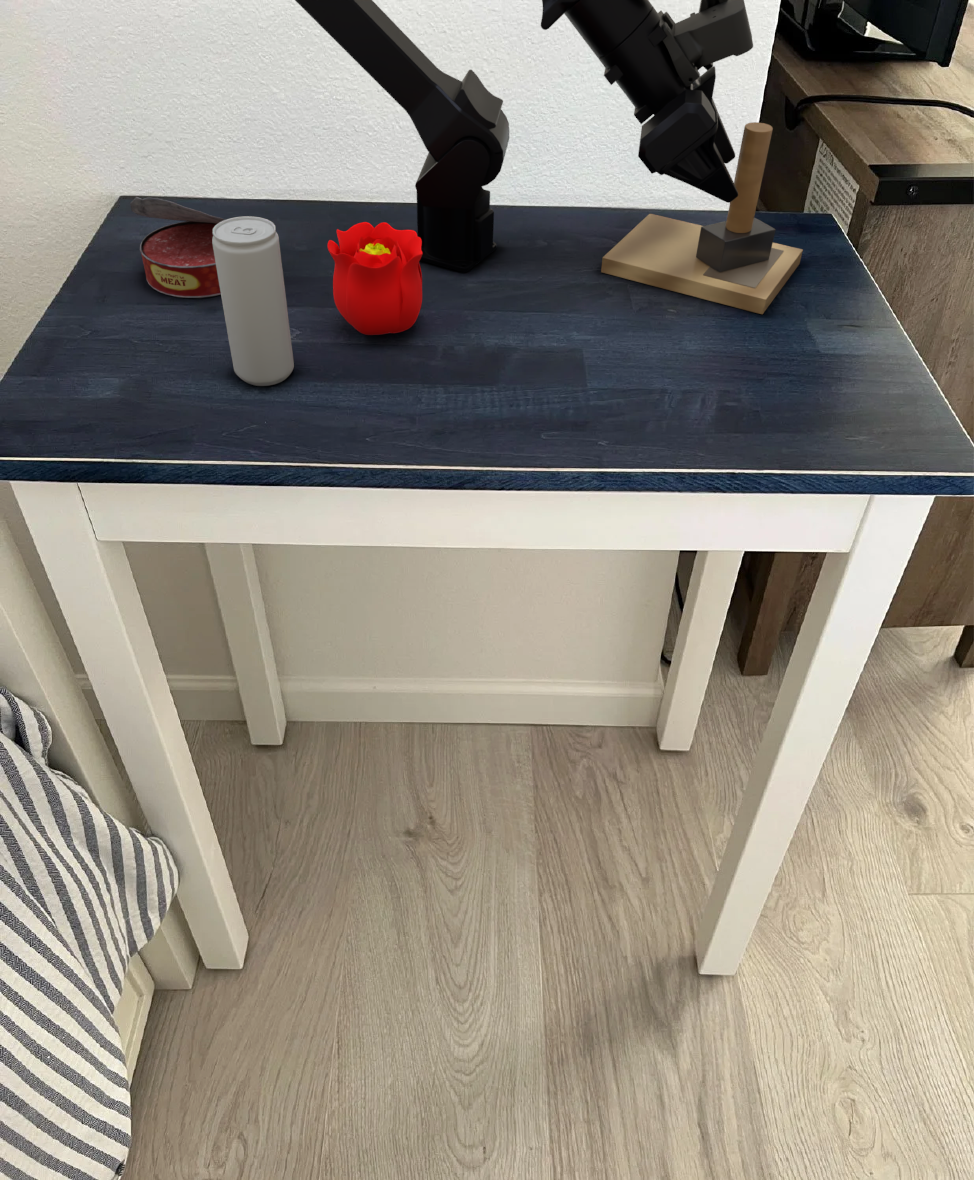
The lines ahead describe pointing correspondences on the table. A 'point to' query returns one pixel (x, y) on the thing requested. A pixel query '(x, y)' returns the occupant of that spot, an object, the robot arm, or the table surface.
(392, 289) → the flower
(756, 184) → the hammer
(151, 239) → the canned food
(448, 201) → the robot arm
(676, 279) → the cutting board
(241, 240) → the beverage can
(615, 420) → the table surface
